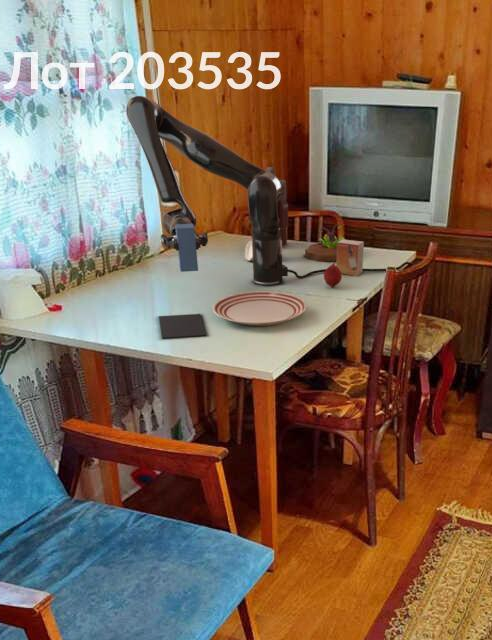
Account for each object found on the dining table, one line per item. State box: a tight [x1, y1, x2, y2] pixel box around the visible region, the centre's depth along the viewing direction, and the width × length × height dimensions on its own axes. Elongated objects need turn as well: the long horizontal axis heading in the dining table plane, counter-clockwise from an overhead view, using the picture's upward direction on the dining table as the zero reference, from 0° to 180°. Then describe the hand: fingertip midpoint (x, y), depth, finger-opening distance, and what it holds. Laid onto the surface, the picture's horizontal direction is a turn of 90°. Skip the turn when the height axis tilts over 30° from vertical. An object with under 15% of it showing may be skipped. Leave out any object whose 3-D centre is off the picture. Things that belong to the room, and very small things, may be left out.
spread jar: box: [244, 236, 283, 262], centre depth 267 cm, size 12×11×12 cm
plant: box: [304, 224, 345, 263], centre depth 275 cm, size 20×20×11 cm
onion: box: [323, 262, 343, 288], centre depth 241 cm, size 6×6×8 cm
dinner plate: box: [212, 290, 308, 327], centre depth 217 cm, size 28×27×3 cm
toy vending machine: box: [265, 166, 289, 248], centre depth 281 cm, size 9×11×28 cm
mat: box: [158, 313, 207, 340], centre depth 209 cm, size 12×18×1 cm, turn 14°
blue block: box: [175, 224, 199, 273], centre depth 212 cm, size 5×5×12 cm
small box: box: [335, 238, 365, 277], centre depth 256 cm, size 8×6×10 cm
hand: (187, 246), depth 210 cm, fingers closed on blue block, 5 cm apart
